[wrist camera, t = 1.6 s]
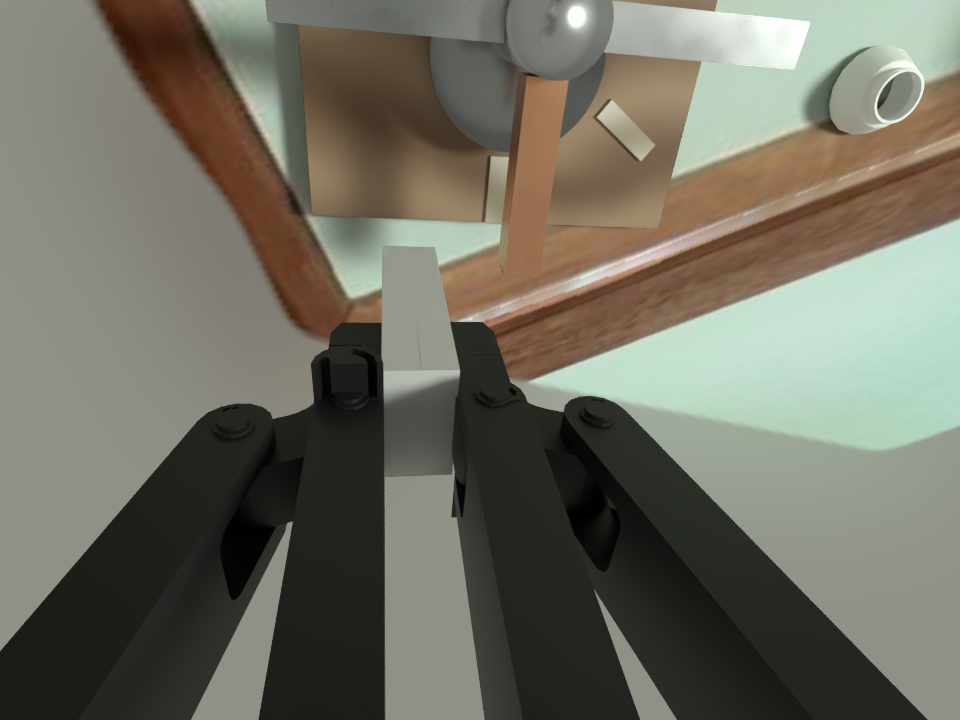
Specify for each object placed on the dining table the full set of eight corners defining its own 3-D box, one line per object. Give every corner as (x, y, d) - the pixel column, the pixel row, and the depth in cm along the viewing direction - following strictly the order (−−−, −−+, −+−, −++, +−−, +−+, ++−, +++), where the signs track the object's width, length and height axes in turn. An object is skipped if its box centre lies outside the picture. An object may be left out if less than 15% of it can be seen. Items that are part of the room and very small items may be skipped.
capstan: (268, -350, 21) (203, -546, 14) (786, -248, 25) (963, -358, 17) (311, 217, 33) (289, 282, 25) (660, 230, 36) (732, 290, 29)
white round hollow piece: (913, 40, 34) (836, 50, 34) (954, 43, 32) (871, 54, 32) (888, 126, 37) (817, 136, 37) (923, 135, 35) (848, 146, 34)
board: (276, -326, 23) (269, -347, 21) (762, -233, 26) (784, -247, 25) (314, 207, 34) (311, 216, 33) (648, 220, 38) (659, 229, 37)
